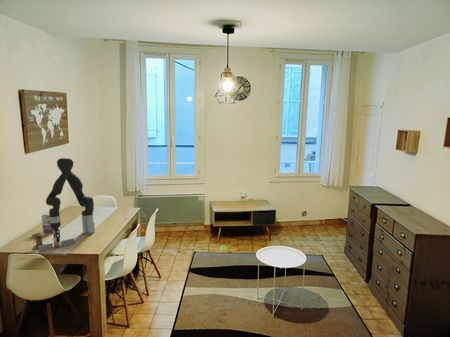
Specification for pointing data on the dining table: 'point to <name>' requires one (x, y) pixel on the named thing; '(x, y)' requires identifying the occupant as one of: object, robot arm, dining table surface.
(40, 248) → the notch board
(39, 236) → the bobbin
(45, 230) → the candy bar box
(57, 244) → the tab
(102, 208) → the dining table surface
